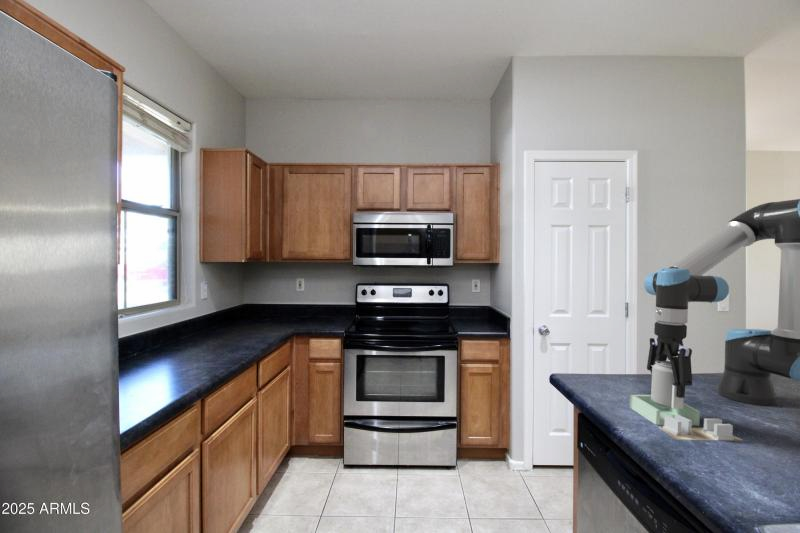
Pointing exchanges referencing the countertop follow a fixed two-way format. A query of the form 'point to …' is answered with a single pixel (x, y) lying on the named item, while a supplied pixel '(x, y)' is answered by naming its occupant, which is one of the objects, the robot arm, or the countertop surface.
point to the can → (662, 383)
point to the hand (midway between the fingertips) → (666, 402)
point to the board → (696, 435)
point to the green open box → (661, 410)
